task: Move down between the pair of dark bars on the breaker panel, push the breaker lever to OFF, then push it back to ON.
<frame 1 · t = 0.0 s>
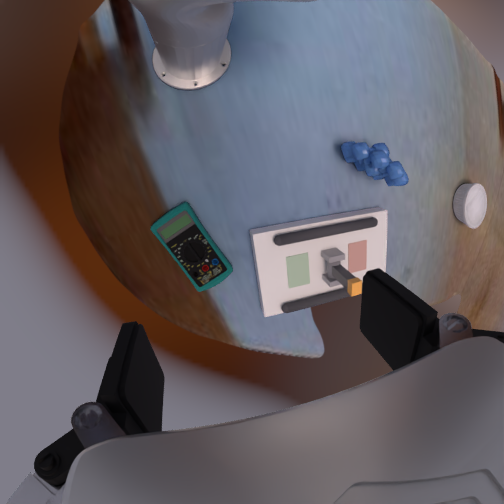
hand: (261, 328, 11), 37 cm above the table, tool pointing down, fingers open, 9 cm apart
ramekin: (461, 201, 56), on the table
breaker panel: (322, 257, 53), on the table
breaker lever: (342, 275, 45), point 9 cm above the table, hinge at 0.0°
grapes: (358, 157, 47), on the table
digital multimeter: (192, 245, 48), on the table
pair of dark bars: (331, 265, 49), point 3 cm above the table
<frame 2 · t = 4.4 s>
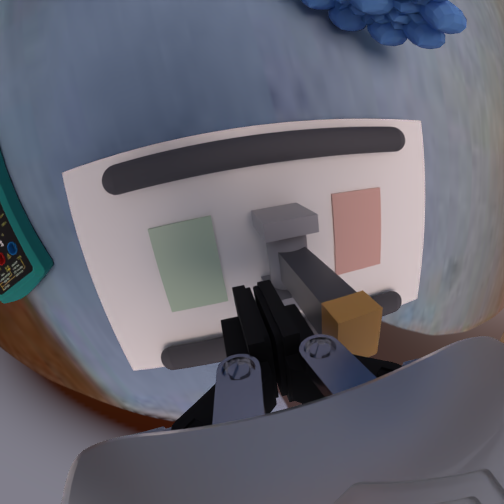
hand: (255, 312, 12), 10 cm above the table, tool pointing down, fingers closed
breaker panel: (268, 234, 21), on the table
breaker lever: (310, 283, 14), point 9 cm above the table, hinge at -1.3°, touching gripper
grapes: (339, 16, 16), on the table
pair of dark bars: (283, 252, 18), point 3 cm above the table
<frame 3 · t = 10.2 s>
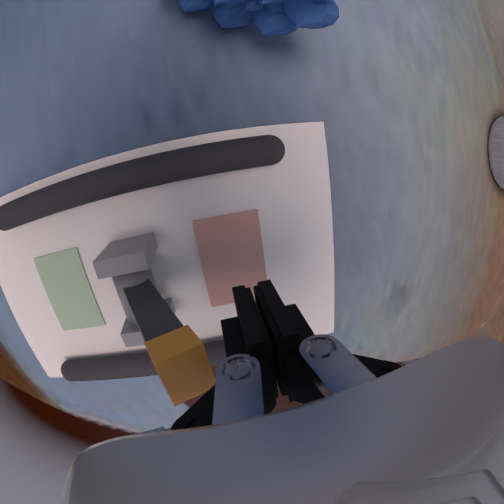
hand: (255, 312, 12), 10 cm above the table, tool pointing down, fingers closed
ramekin: (501, 151, 23), on the table
breaker panel: (149, 260, 20), on the table
breaker lever: (151, 318, 13), point 8 cm above the table, hinge at -22.8°, touching gripper
grapes: (233, 12, 15), on the table
pair of dark bars: (140, 283, 17), point 3 cm above the table
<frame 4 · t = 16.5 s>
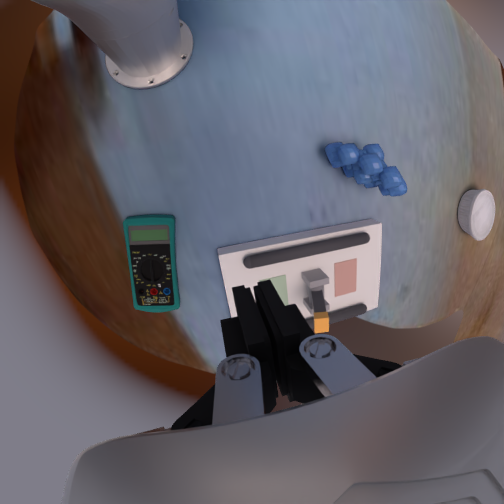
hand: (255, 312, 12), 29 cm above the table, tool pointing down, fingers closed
ramekin: (467, 209, 49), on the table
breaker panel: (304, 278, 46), on the table
breaker lever: (318, 305, 38), point 8 cm above the table, hinge at 17.0°
grapes: (347, 161, 41), on the table
digital multimeter: (153, 260, 41), on the table
pair of dark bars: (313, 288, 42), point 3 cm above the table
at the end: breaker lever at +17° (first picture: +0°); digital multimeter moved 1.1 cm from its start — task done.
